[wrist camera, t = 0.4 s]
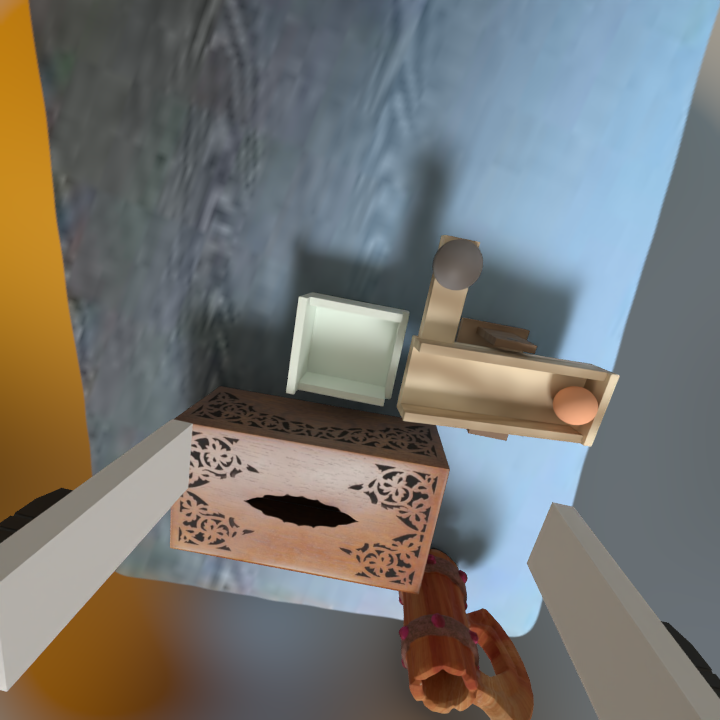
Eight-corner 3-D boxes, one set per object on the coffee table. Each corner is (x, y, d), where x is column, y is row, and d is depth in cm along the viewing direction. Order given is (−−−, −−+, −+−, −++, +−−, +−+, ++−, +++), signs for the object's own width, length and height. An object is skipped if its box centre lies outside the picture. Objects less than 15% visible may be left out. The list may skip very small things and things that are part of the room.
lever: (435, 234, 29) (449, 231, 26) (625, 273, 32) (659, 275, 28) (396, 406, 33) (404, 423, 30) (567, 429, 36) (591, 446, 32)
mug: (382, 572, 47) (379, 709, 32) (411, 527, 45) (423, 652, 30) (478, 617, 48) (518, 770, 33) (511, 575, 45) (570, 719, 31)
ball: (551, 378, 33) (580, 393, 29) (582, 382, 33) (614, 397, 30) (539, 412, 33) (566, 430, 30) (570, 416, 34) (599, 433, 31)
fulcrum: (461, 317, 38) (478, 328, 31) (526, 329, 37) (558, 343, 30) (438, 405, 40) (449, 434, 33) (498, 417, 40) (522, 449, 33)
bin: (312, 292, 38) (298, 296, 32) (408, 310, 38) (412, 318, 32) (300, 375, 41) (285, 392, 35) (390, 392, 40) (391, 413, 34)
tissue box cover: (435, 422, 41) (449, 469, 32) (411, 524, 45) (418, 594, 35) (221, 385, 42) (172, 420, 32) (215, 488, 46) (170, 547, 36)
